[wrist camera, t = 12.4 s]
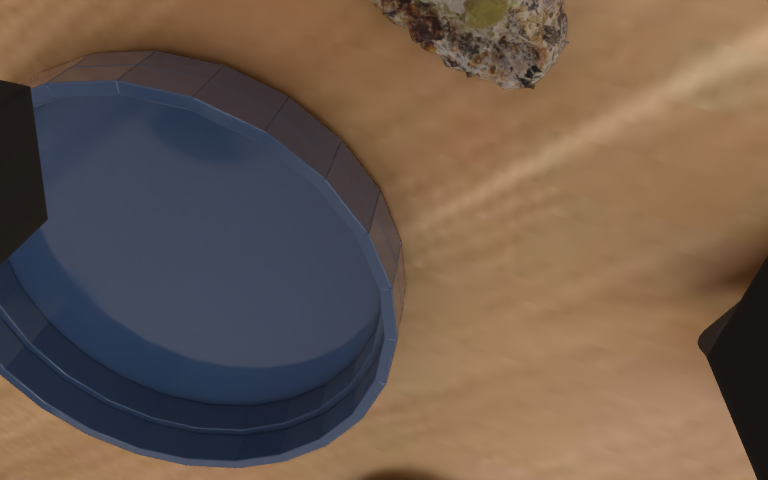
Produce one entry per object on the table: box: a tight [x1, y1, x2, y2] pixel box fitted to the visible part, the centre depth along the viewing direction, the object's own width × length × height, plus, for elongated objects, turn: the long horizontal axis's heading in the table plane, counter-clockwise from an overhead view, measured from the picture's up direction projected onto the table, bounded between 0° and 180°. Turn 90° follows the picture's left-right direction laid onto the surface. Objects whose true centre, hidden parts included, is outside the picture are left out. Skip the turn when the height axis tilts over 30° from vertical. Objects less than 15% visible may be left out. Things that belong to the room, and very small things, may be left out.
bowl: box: [0, 50, 405, 468], centre depth 32 cm, size 22×22×4 cm
